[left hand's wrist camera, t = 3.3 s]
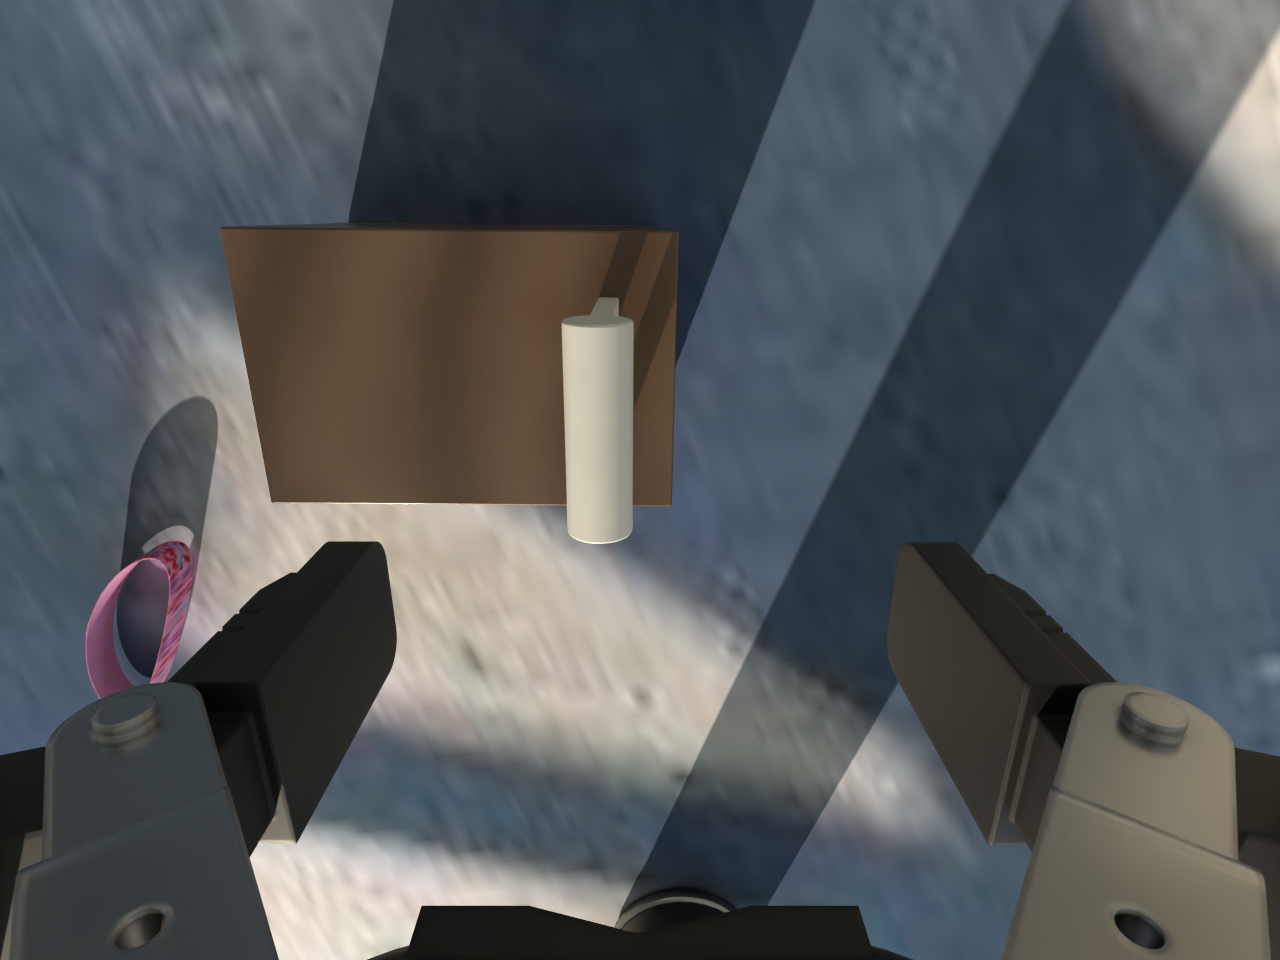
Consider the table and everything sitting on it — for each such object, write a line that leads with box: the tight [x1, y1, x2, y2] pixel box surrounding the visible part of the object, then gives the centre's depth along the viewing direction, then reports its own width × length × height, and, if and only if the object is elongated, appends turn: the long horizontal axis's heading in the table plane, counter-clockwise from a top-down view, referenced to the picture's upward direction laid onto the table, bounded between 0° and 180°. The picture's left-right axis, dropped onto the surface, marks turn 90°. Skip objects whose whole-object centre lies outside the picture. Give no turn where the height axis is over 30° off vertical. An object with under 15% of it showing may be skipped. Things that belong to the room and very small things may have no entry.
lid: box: [220, 226, 679, 544], centre depth 22 cm, size 15×10×9 cm, turn 89°
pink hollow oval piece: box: [86, 541, 193, 699], centre depth 39 cm, size 11×4×2 cm, turn 156°
